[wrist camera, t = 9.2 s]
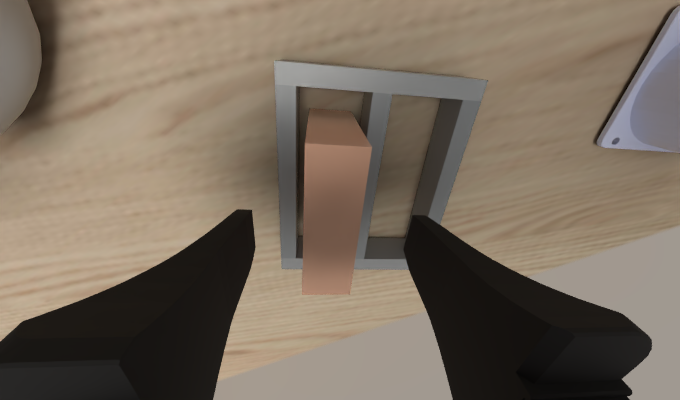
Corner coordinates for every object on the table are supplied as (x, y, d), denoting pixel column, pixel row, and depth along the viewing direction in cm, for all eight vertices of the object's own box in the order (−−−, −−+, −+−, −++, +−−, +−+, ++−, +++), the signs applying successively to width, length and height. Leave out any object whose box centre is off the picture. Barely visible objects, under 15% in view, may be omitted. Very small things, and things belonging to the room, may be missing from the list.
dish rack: (463, 76, 15) (488, 80, 13) (413, 247, 21) (424, 269, 19) (280, 59, 14) (274, 60, 12) (285, 246, 20) (281, 268, 18)
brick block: (350, 111, 16) (371, 147, 10) (339, 220, 20) (350, 294, 14) (309, 108, 15) (304, 143, 9) (306, 219, 19) (302, 294, 13)
